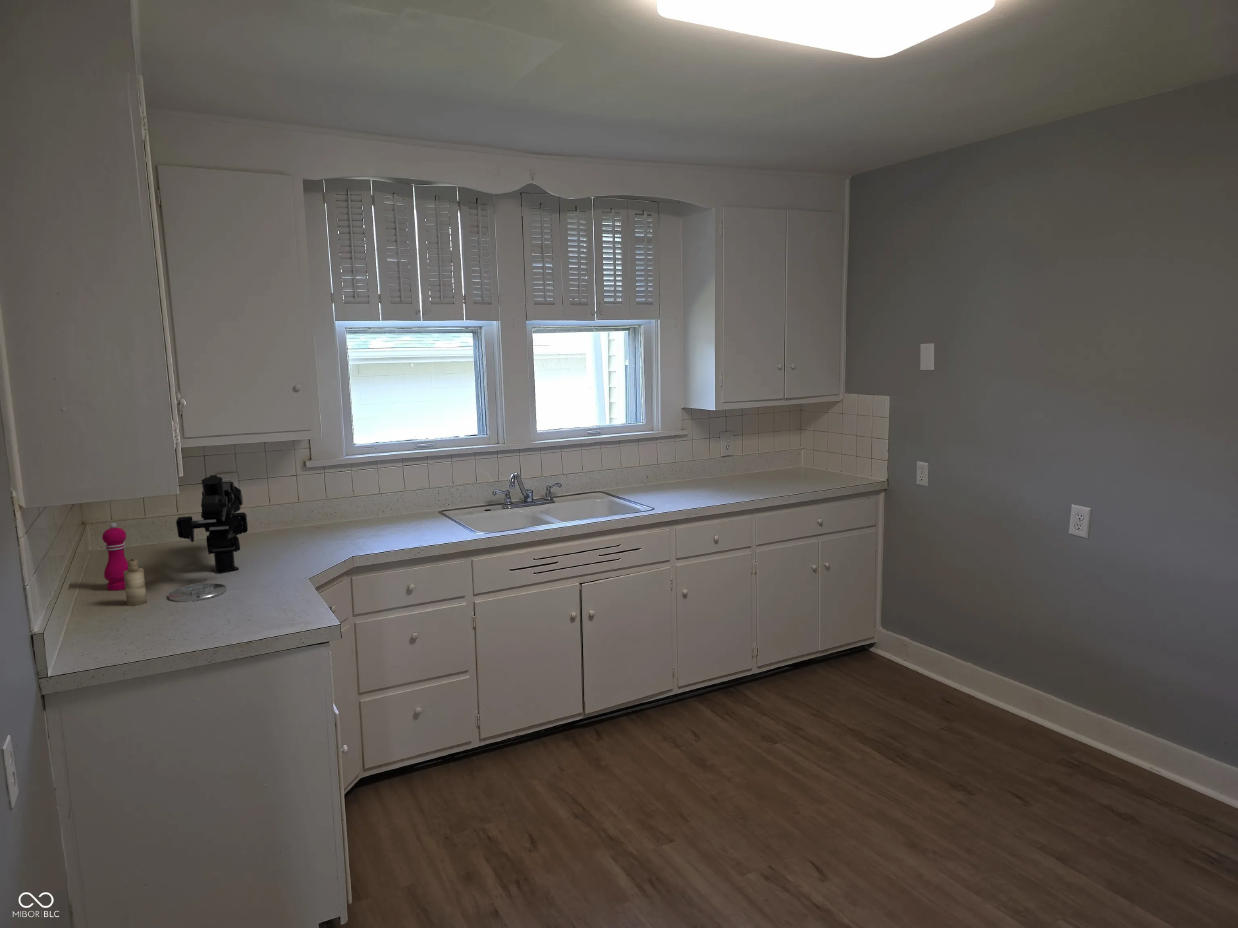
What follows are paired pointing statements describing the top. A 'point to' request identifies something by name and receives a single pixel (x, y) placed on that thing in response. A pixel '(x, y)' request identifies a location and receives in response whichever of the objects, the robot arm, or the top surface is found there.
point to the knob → (135, 584)
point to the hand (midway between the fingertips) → (209, 539)
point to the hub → (197, 592)
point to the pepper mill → (115, 557)
